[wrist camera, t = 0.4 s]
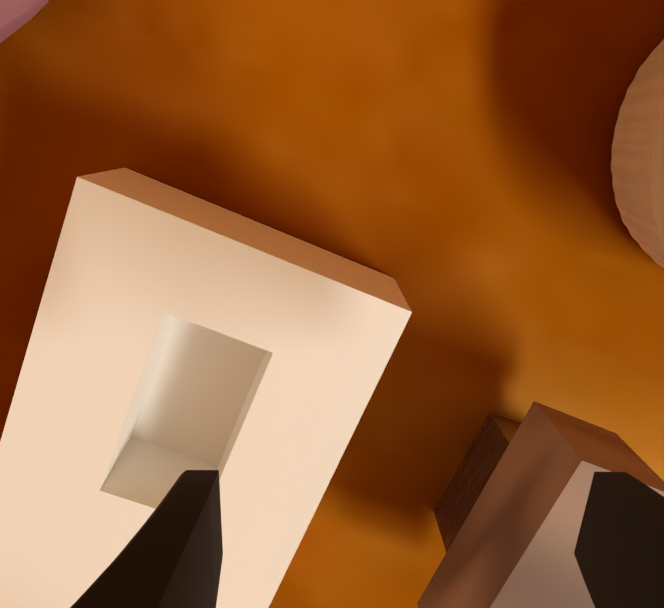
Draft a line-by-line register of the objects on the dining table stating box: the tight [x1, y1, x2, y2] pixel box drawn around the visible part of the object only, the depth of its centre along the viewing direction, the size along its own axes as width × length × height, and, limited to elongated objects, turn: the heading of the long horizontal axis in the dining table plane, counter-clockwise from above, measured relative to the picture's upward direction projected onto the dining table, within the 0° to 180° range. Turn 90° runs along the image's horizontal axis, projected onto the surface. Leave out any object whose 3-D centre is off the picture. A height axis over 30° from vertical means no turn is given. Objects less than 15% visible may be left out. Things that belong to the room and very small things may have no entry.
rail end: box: [417, 402, 664, 608], centre depth 20 cm, size 9×3×6 cm, turn 157°
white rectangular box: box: [0, 168, 412, 608], centre depth 20 cm, size 18×10×4 cm, turn 157°
